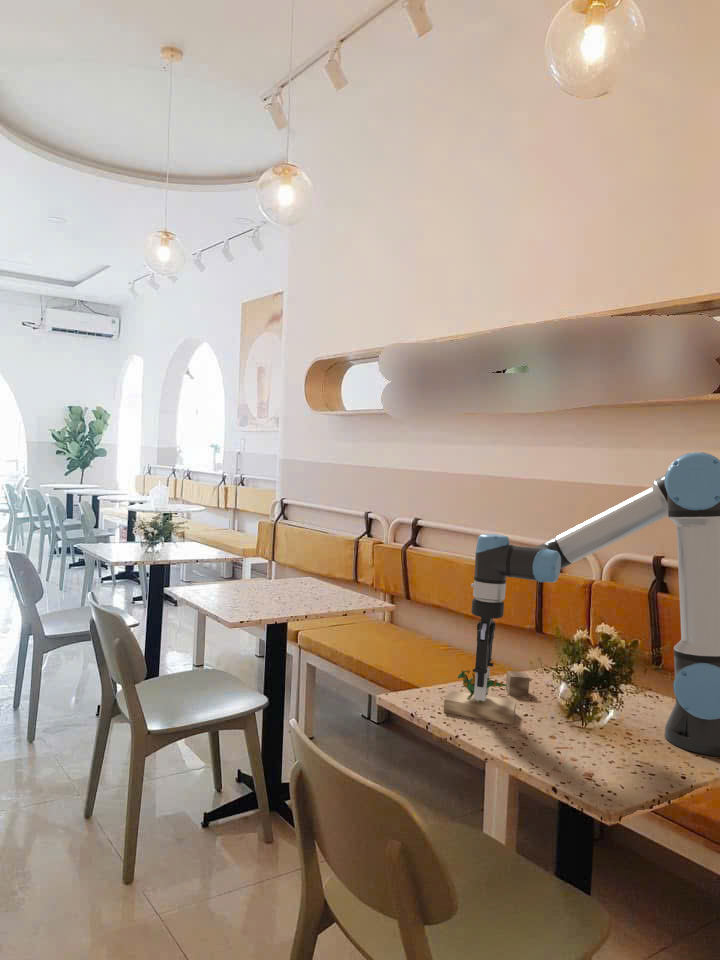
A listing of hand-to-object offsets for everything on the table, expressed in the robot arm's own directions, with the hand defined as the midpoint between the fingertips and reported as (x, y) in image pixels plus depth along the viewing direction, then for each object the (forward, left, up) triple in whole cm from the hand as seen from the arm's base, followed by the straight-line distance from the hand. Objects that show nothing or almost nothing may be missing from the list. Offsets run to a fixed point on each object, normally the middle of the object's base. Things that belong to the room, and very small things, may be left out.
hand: (480, 696), depth 169 cm
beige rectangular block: (0, 0, -4) cm, 4 cm away
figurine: (0, 0, -1) cm, 1 cm away
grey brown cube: (-7, -21, -4) cm, 23 cm away
